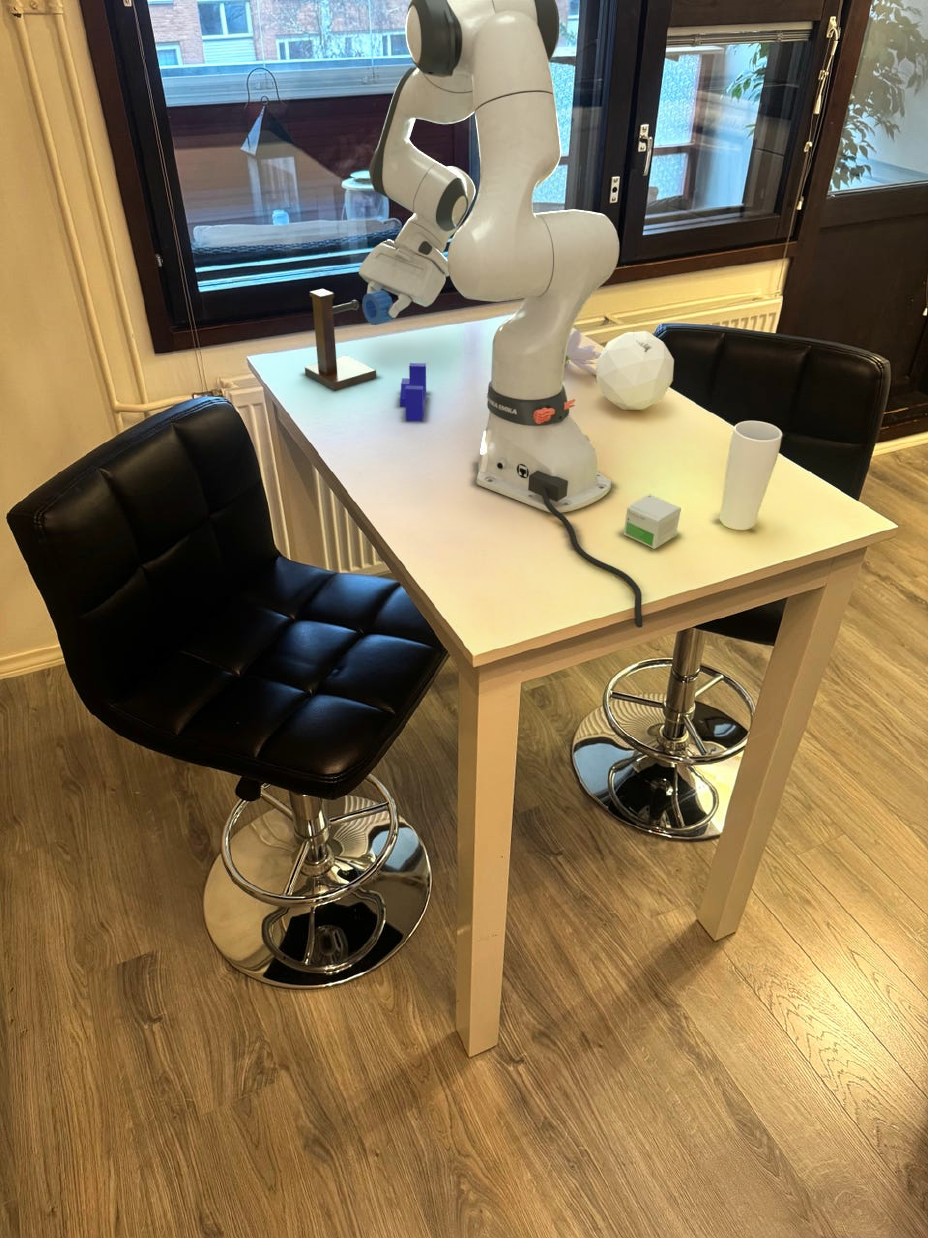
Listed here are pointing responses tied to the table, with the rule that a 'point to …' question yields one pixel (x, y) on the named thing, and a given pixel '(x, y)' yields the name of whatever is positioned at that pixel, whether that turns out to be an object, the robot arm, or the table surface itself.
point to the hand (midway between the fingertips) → (378, 310)
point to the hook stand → (333, 347)
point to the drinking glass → (748, 472)
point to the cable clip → (414, 392)
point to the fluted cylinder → (376, 307)
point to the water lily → (580, 353)
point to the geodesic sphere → (635, 370)
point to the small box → (652, 521)
